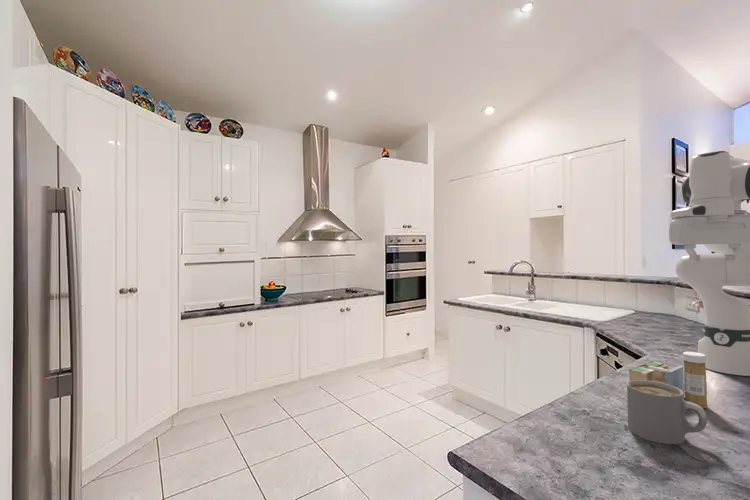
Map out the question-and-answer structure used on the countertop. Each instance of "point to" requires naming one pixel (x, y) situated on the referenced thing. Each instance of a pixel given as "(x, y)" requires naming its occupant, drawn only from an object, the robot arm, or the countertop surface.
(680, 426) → the coffee mug
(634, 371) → the tan and green block
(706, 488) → the countertop surface
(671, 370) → the gauge plunger
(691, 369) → the sprinkles bottle
